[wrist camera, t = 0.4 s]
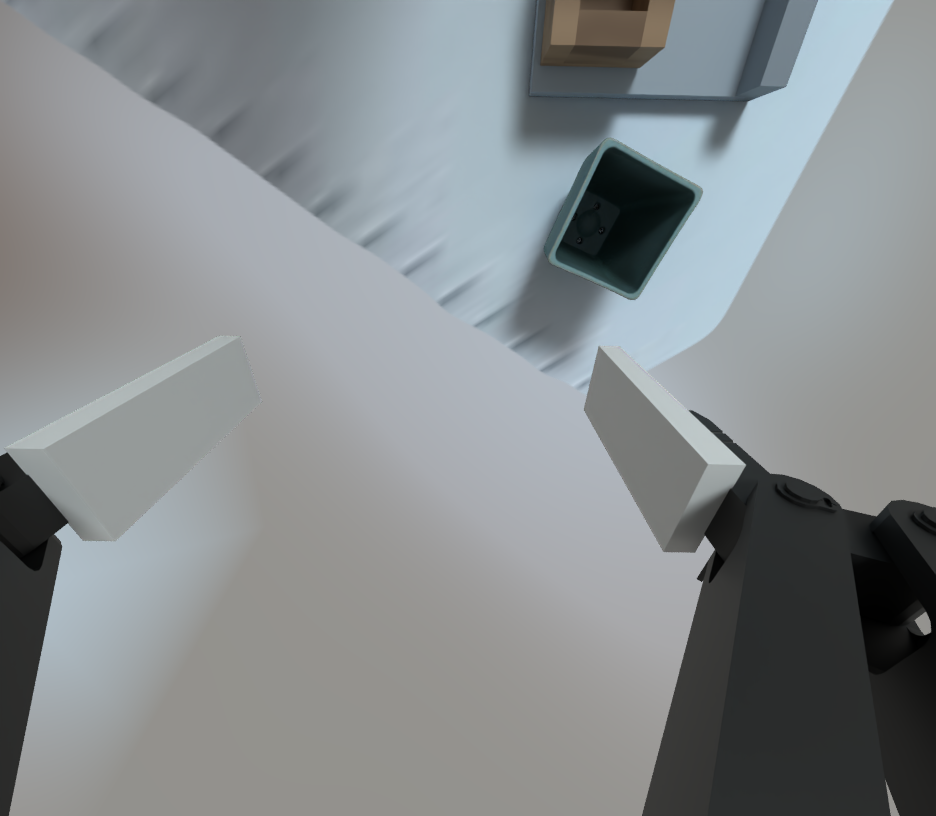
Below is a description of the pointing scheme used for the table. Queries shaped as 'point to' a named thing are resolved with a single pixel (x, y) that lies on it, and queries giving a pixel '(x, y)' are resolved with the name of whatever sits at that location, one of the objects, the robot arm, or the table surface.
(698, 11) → the board
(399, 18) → the table surface
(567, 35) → the block
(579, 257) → the flower pot
